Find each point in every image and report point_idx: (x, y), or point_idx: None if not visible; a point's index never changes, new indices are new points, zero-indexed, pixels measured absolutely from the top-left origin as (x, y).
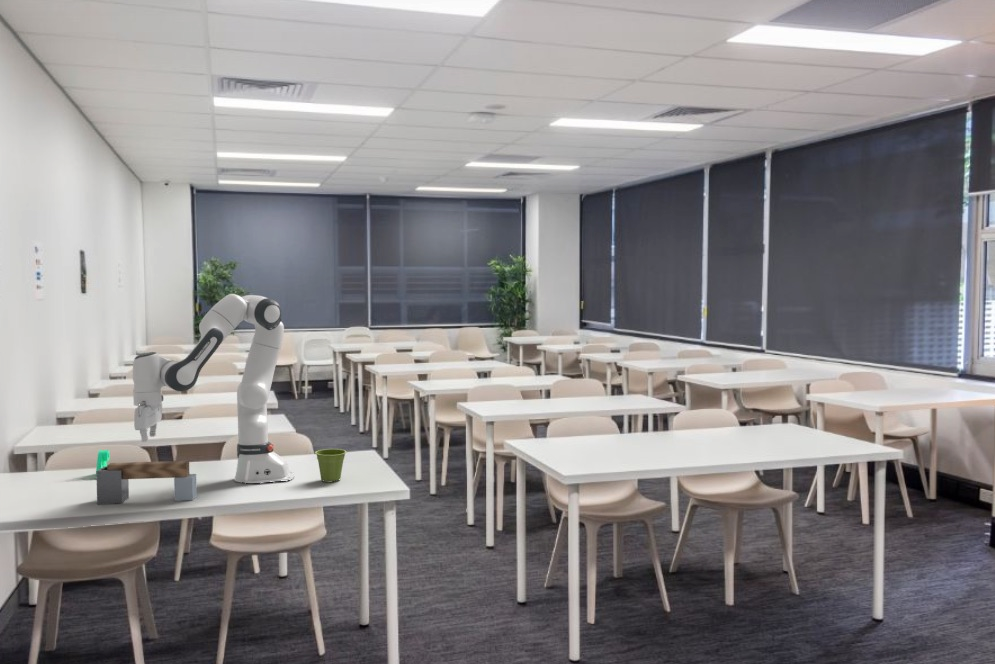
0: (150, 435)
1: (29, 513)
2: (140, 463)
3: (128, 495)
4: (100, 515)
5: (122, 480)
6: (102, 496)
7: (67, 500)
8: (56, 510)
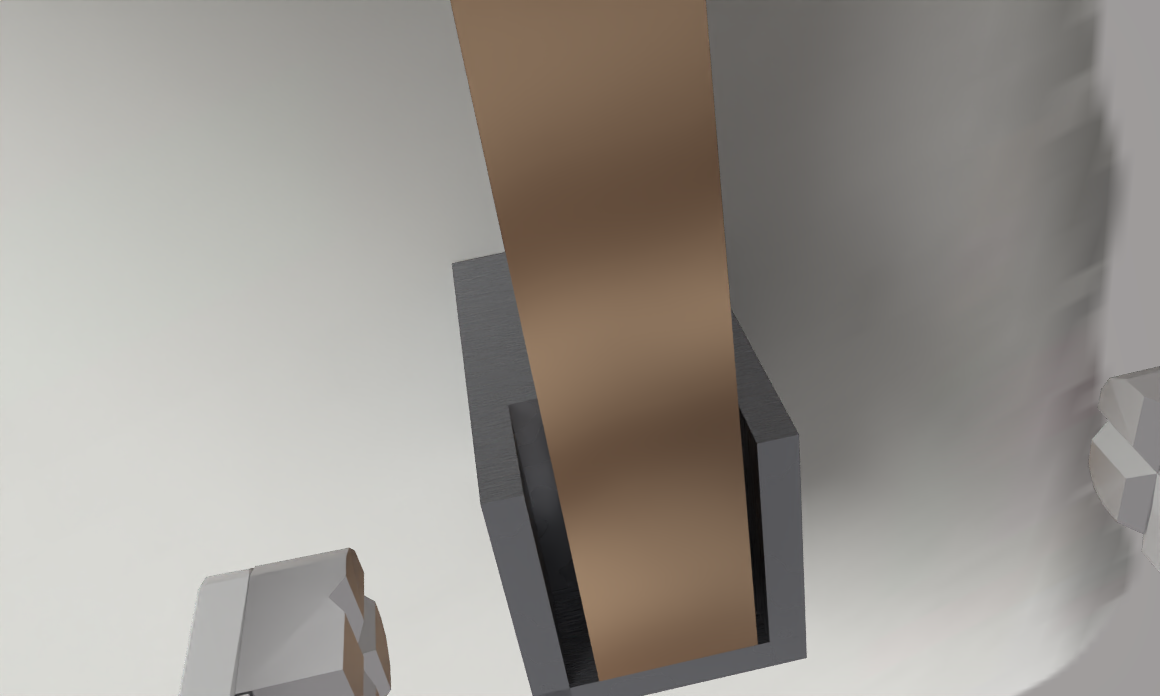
0: (381, 656)
1: (903, 672)
2: (645, 306)
3: (463, 276)
4: (1090, 189)
5: None
6: None
7: None
8: (851, 576)
